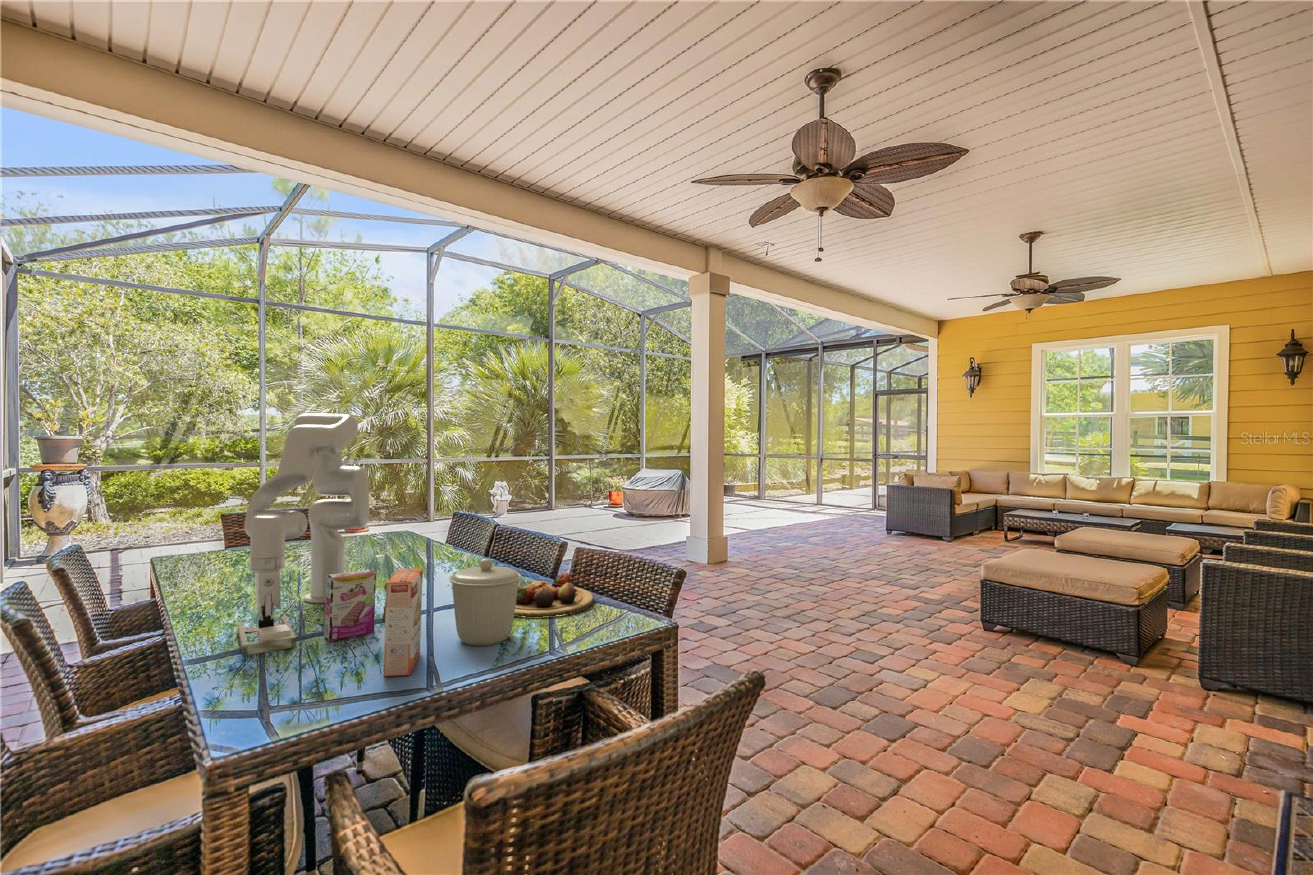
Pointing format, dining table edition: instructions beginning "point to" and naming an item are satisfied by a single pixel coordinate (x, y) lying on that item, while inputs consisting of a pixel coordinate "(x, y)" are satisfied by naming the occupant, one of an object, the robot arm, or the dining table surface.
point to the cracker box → (402, 622)
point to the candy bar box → (349, 604)
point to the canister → (484, 602)
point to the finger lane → (266, 644)
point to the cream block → (273, 632)
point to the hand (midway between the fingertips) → (266, 634)
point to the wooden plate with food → (551, 598)
